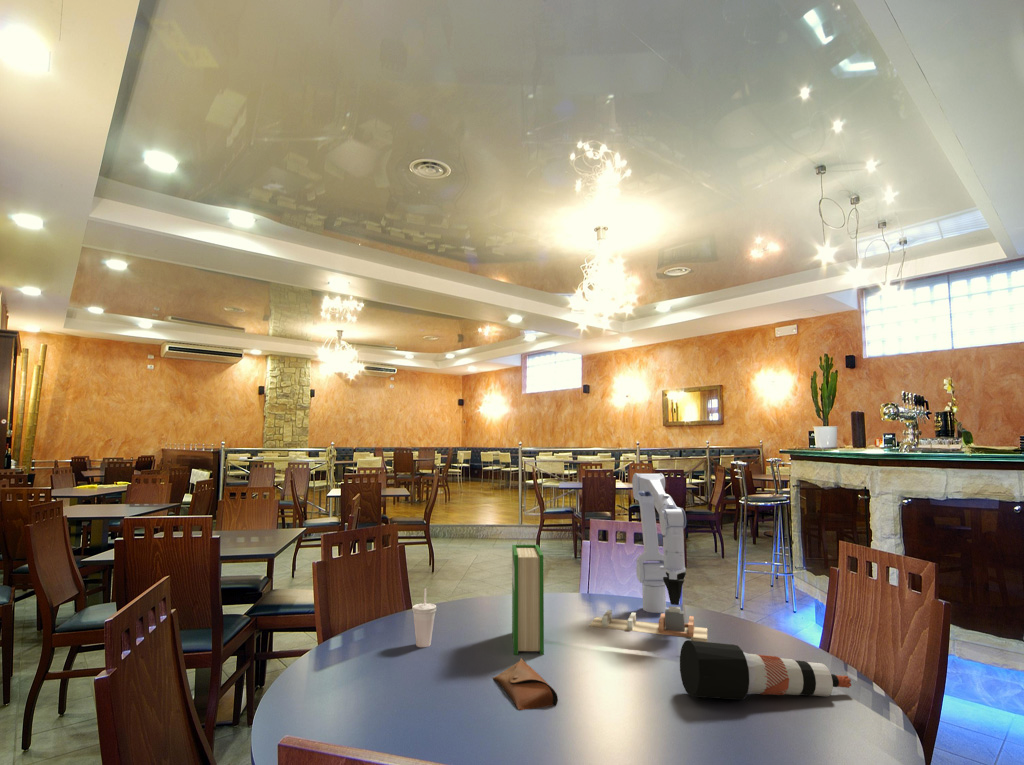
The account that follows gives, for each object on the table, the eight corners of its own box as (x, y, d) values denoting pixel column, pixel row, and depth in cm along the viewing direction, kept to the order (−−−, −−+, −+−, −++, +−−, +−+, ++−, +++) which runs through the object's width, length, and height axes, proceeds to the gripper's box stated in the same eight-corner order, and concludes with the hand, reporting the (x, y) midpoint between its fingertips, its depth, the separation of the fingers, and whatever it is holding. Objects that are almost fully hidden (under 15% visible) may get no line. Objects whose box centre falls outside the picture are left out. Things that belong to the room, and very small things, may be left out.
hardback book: (543, 654, 135) (543, 555, 138) (514, 654, 134) (514, 555, 138) (538, 632, 152) (538, 544, 156) (512, 632, 152) (512, 544, 155)
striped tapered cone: (854, 722, 109) (871, 683, 106) (691, 707, 107) (703, 668, 104) (826, 680, 119) (841, 643, 116) (676, 666, 117) (686, 629, 114)
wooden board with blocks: (595, 620, 164) (595, 606, 165) (707, 631, 153) (706, 617, 154) (588, 629, 155) (588, 615, 155) (707, 642, 144) (706, 627, 144)
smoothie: (438, 641, 144) (439, 586, 146) (432, 649, 138) (433, 592, 140) (414, 640, 145) (416, 586, 147) (407, 648, 139) (409, 591, 141)
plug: (666, 627, 154) (665, 605, 155) (685, 629, 152) (684, 606, 153) (665, 630, 151) (664, 608, 152) (684, 632, 149) (683, 610, 150)
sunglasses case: (489, 677, 120) (503, 648, 122) (514, 690, 122) (528, 661, 124) (519, 711, 104) (535, 677, 106) (547, 726, 105) (563, 692, 107)
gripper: (661, 546, 163) (663, 594, 161) (657, 554, 149) (658, 606, 147) (686, 548, 160) (688, 596, 158) (683, 556, 147) (685, 608, 145)
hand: (675, 601), depth 152 cm, fingers open, 7 cm apart
